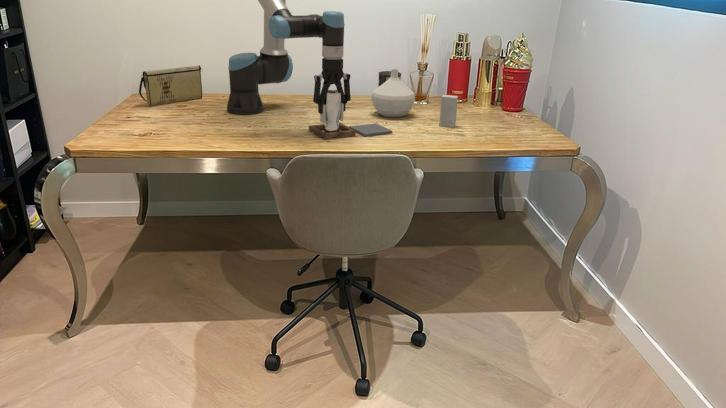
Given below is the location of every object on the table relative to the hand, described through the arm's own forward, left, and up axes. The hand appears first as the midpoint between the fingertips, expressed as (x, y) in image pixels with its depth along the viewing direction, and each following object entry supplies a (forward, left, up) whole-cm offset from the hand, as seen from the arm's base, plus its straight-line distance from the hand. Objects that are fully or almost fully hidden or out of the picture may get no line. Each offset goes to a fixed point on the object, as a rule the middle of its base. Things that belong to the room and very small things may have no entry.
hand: (331, 121), depth 203 cm
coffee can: (+47, +35, -5) cm, 59 cm away
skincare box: (+48, -8, -5) cm, 49 cm away
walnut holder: (0, 0, -5) cm, 5 cm away
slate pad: (+15, -3, -5) cm, 16 cm away
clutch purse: (-42, +74, -5) cm, 85 cm away
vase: (+37, +16, -5) cm, 41 cm away
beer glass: (0, 0, -4) cm, 4 cm away
